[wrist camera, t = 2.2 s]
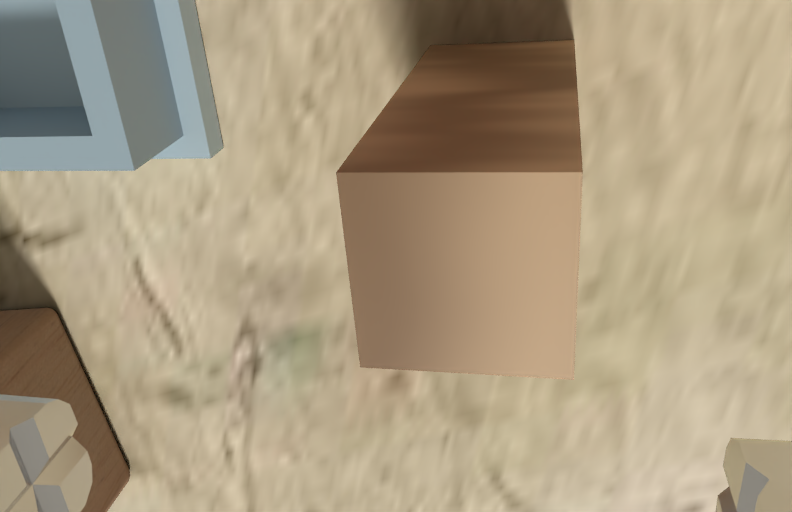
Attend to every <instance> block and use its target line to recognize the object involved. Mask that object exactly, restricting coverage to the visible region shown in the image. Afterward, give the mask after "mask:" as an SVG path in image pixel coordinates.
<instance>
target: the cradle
mask: <svg viewBox="0 0 792 512" xmlns="http://www.w3.org/2000/svg"><path fill="white" fill-rule="evenodd" d="M223 148H224V147H223V142H222V137H221V132H220V127H219V122H218V117H217V112H216V107H215V102H214V97H213V91H212V86H211V81H210V76H209V71H208V66H207V61H206V56H205V51H204V46H203V41H202V35H201V30H200V25H199V20H198V15H197V10H196V5H195V0H0V171H135V170H136V169H137V168H139V167H140V166H142V165H143V164H144V163H146V162H147V161H149V160H150V159H181V158H212V157H213V156H214V155H215V154H216V153H218V152H219V151H220V150H221V149H223Z"/></svg>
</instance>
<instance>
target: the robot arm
mask: <svg viewBox="0 0 792 512" xmlns="http://www.w3.org/2000/svg"><path fill="white" fill-rule="evenodd" d="M77 425H78V423H77V420H76V418H75V415H74V413H73V410H72V408H71V405H70V404H69V403H66V402H64V401H61V400H59V399H50V398H38V397H26V396H15V395H3V394H0V512H81V511H82V509H83V508H84V506H85V505H86V502H87V499H88V495H89V492H90V489H91V485H92V464H91V461H90V458H89V455H88V452H87V450H86V449H85V448H84V447H83V446H82V445H81V444H80V443H79V442H78V441H77V440H75V439H74V438H73V437H72V436H73V434H74V431H75V429H76V427H77ZM723 467H724V470H725V474H726V477H727V480H728V484H729V487H728V488H727V489H725V490H724V491H723V492H722V493H721V494H719V495H718V498H717V506H716V512H792V441H780V440H761V439H742V438H731V439H730V441H729V443H728V445H727V448H726V452H725V458H724V463H723Z"/></svg>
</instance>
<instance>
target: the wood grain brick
mask: <svg viewBox="0 0 792 512" xmlns="http://www.w3.org/2000/svg"><path fill="white" fill-rule="evenodd" d="M582 174H583V171H582V156H581V140H580V124H579V108H578V92H577V76H576V60H575V44H574V40H556V41H531V42H505V43H479V44H453V45H431V46H430V47H429V48H428V50H427V51H426V52H425V54H424V55H423V56H422V58H421V59H420V60H419V62H418V63H417V64H416V66H415V67H414V68H413V70H412V71H411V72H410V74H409V75H408V77H407V78H406V79H405V81H404V82H403V83H402V85H401V86H400V87H399V89H398V90H397V91H396V93H395V94H394V95H393V97H392V98H391V99H390V101H389V102H388V103H387V105H386V106H385V108H384V109H383V110H382V112H381V113H380V114H379V116H378V117H377V118H376V120H375V121H374V122H373V124H372V125H371V126H370V128H369V129H368V130H367V132H366V133H365V134H364V136H363V137H362V139H361V140H360V141H359V143H358V144H357V145H356V147H355V148H354V149H353V151H352V152H351V153H350V155H349V156H348V157H347V159H346V160H345V161H344V163H343V164H342V166H341V167H340V168H339V170H338V171H337V172H336V175H337V183H338V191H339V199H340V207H341V215H342V223H343V231H344V239H345V247H346V255H347V264H348V272H349V280H350V288H351V296H352V304H353V312H354V320H355V328H356V336H357V344H358V352H359V360H360V367H365V368H382V369H399V370H416V371H433V372H451V373H468V374H485V375H502V376H519V377H536V378H554V379H571V380H574V364H575V340H576V316H577V292H578V269H579V245H580V221H581V198H582Z"/></svg>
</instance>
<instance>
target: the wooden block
mask: <svg viewBox="0 0 792 512" xmlns="http://www.w3.org/2000/svg"><path fill="white" fill-rule="evenodd" d="M0 394H3V395H15V396H26V397H38V398H50V399H59V400H61V401H64V402H66V403H69V404H70V405H71V408H72V410H73V413H74V415H75V418H76V420H77V423H78V425H77V427H76V429H75V431H74V434H73V436H72V437H73V438H74V439H75V440H77V441H78V442H79V443H80V444H81V445H82V446H83V447H84V448H85V449H86V450H87V452H88V455H89V458H90V461H91V464H92V485H91V489H90V492H89V495H88V499H87V502H86V505H85V506H84V508H83V509H82V511H81V512H107V511H108V509H109V508H110V507H111V505H112V504H113V502H114V501H115V499H116V498H117V497H118V495H119V494H120V492H121V491H122V489H123V488H124V487H125V485H126V484H127V482H128V481H129V477H130V471H129V469H128V467H127V464H126V462H125V460H124V458H123V456H122V454H121V451H120V449H119V447H118V445H117V443H116V441H115V438H114V436H113V434H112V432H111V430H110V428H109V425H108V423H107V421H106V419H105V417H104V415H103V412H102V410H101V408H100V406H99V404H98V401H97V399H96V397H95V395H94V393H93V391H92V388H91V386H90V384H89V382H88V380H87V378H86V375H85V373H84V371H83V369H82V367H81V365H80V362H79V360H78V358H77V356H76V354H75V352H74V349H73V347H72V345H71V343H70V341H69V339H68V336H67V334H66V332H65V330H64V328H63V326H62V323H61V321H60V319H59V317H58V315H57V313H56V312H55V311H54V310H53V309H51V308H34V309H20V310H6V311H0Z"/></svg>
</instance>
